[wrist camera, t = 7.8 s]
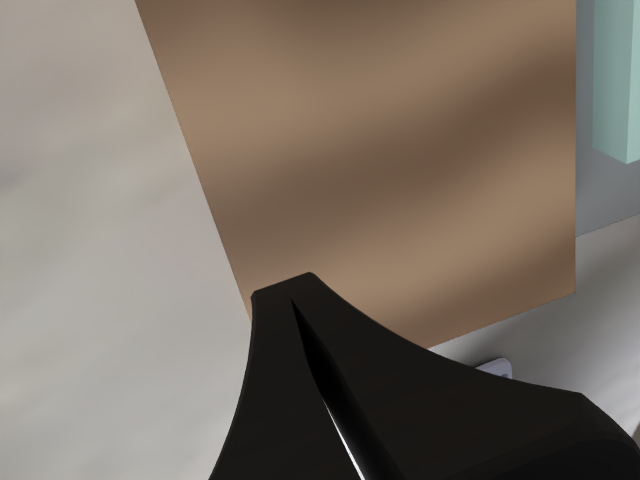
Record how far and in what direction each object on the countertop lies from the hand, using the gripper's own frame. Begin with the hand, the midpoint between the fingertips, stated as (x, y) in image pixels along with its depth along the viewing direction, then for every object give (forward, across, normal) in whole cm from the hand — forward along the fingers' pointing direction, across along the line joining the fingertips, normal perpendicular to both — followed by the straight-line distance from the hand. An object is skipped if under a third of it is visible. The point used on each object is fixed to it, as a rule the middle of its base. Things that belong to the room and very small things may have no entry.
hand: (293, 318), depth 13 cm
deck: (+10, -5, 0) cm, 11 cm away
